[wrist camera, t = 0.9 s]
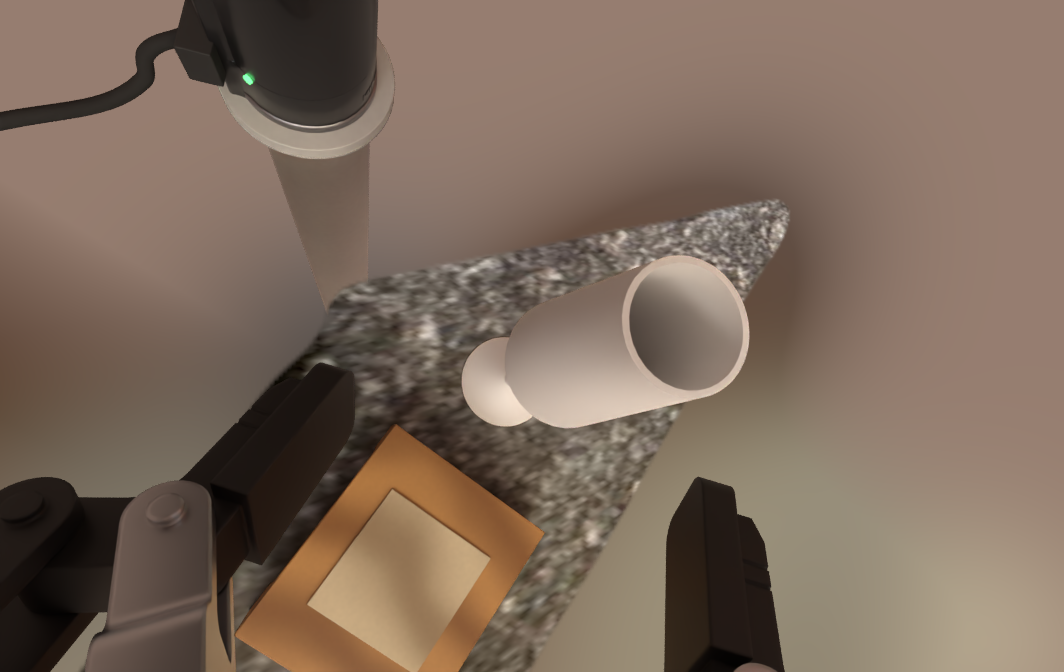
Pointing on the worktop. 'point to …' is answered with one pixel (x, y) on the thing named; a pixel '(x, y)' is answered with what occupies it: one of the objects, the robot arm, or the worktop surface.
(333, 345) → the worktop surface
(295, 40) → the robot arm
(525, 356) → the champagne flute
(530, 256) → the worktop surface
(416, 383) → the worktop surface
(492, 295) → the worktop surface
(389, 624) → the wooden coaster block
